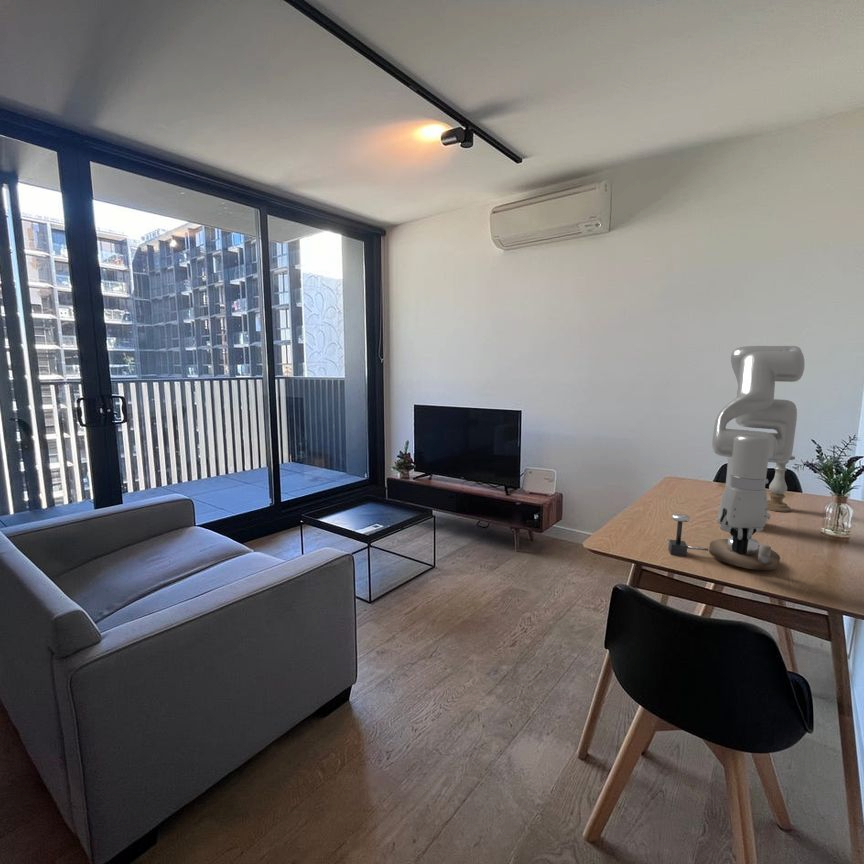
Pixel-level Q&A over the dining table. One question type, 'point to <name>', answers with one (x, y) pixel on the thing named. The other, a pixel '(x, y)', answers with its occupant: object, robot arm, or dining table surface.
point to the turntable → (761, 561)
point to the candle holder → (778, 489)
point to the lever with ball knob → (677, 545)
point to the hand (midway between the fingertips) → (739, 552)
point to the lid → (751, 548)
